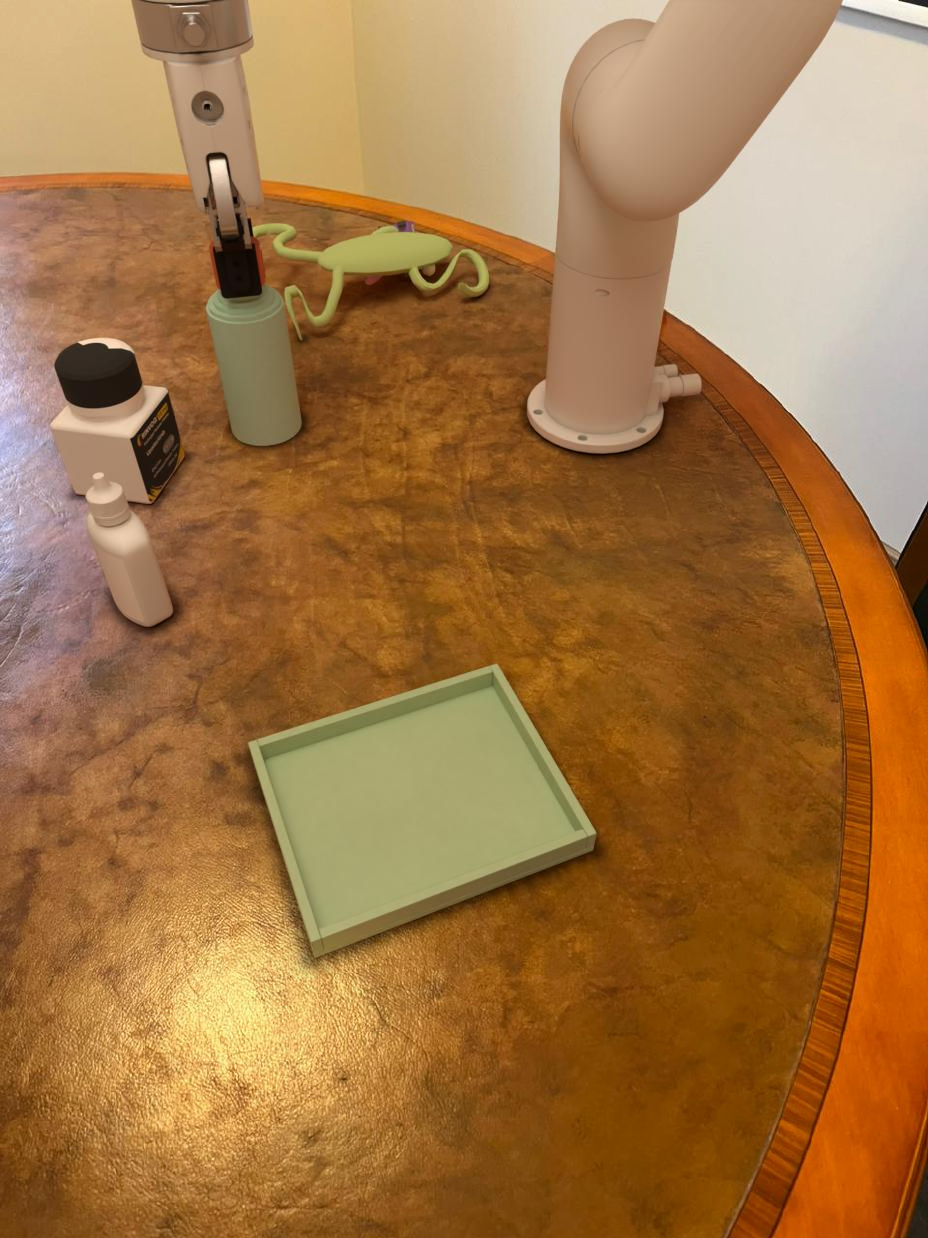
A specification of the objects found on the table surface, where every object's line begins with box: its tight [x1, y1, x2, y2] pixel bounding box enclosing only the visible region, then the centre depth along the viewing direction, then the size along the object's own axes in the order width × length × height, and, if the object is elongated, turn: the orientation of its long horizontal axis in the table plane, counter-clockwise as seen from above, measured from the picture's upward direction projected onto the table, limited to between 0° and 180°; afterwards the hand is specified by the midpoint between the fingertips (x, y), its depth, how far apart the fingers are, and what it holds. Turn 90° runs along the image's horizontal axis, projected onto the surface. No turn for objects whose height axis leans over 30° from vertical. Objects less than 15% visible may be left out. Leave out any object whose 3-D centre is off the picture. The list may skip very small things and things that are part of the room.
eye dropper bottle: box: [85, 473, 174, 628], centre depth 65 cm, size 4×6×12 cm
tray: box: [247, 663, 597, 959], centre depth 57 cm, size 17×14×2 cm
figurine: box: [252, 220, 490, 341], centre depth 103 cm, size 18×27×6 cm
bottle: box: [205, 283, 303, 447], centre depth 80 cm, size 6×6×16 cm
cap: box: [208, 236, 267, 290], centre depth 75 cm, size 4×4×3 cm
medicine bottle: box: [49, 337, 186, 505], centre depth 76 cm, size 7×7×12 cm
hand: (240, 279), depth 76 cm, fingers closed on cap, 3 cm apart
